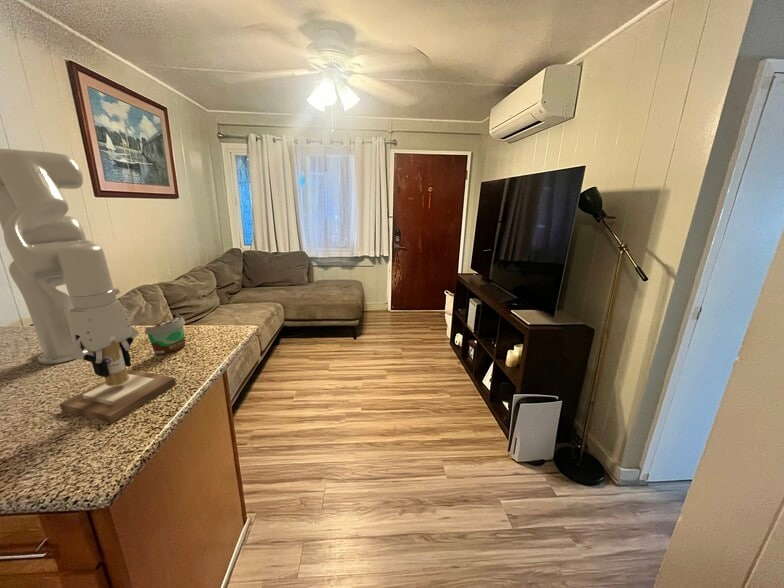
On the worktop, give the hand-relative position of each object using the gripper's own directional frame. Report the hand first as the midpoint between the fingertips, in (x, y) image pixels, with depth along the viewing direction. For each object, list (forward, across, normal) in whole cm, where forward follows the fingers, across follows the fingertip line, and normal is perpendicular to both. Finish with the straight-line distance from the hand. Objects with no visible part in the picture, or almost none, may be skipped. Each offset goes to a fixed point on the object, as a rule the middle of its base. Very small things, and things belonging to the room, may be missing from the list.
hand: (114, 369), depth 79 cm
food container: (+8, -24, -10) cm, 27 cm away
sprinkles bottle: (+4, 0, 0) cm, 4 cm away
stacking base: (+8, 0, 0) cm, 8 cm away
